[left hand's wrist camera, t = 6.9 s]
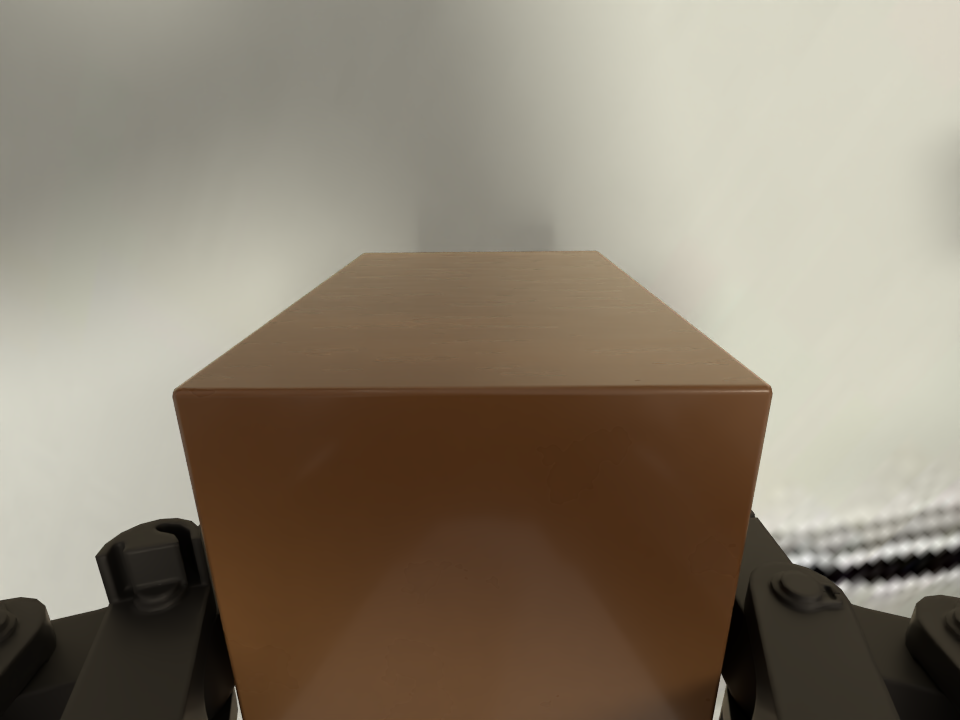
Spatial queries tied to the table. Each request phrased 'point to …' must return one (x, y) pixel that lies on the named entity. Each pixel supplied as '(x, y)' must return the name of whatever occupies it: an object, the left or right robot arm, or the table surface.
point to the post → (475, 494)
